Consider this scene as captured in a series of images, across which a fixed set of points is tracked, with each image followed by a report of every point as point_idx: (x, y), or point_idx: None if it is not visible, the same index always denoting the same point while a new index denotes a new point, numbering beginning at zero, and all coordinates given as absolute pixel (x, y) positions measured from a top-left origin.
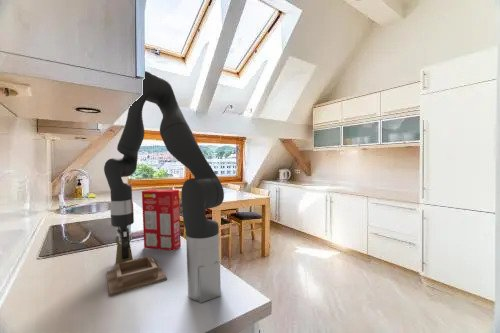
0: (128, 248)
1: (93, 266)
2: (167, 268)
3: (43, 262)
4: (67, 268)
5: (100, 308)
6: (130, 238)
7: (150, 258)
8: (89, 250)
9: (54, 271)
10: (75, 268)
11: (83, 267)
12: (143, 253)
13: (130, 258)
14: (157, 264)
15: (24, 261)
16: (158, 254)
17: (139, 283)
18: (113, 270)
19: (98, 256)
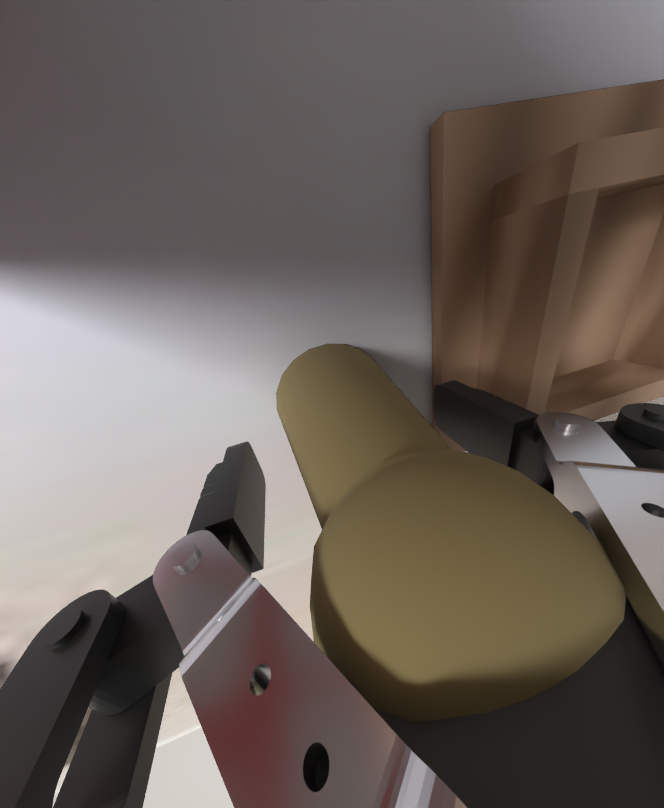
0: (529, 414)
1: (306, 535)
2: (614, 16)
3: (185, 700)
4: (286, 608)
5: (659, 397)
6: (518, 483)
7: (643, 149)
8: (8, 656)
9: (300, 627)
10: (299, 585)
11: (300, 565)
12: (132, 262)
13: (376, 367)
14: (546, 110)
15: (157, 743)
16: (208, 43)
17: None
18: (444, 433)
19: (148, 572)
